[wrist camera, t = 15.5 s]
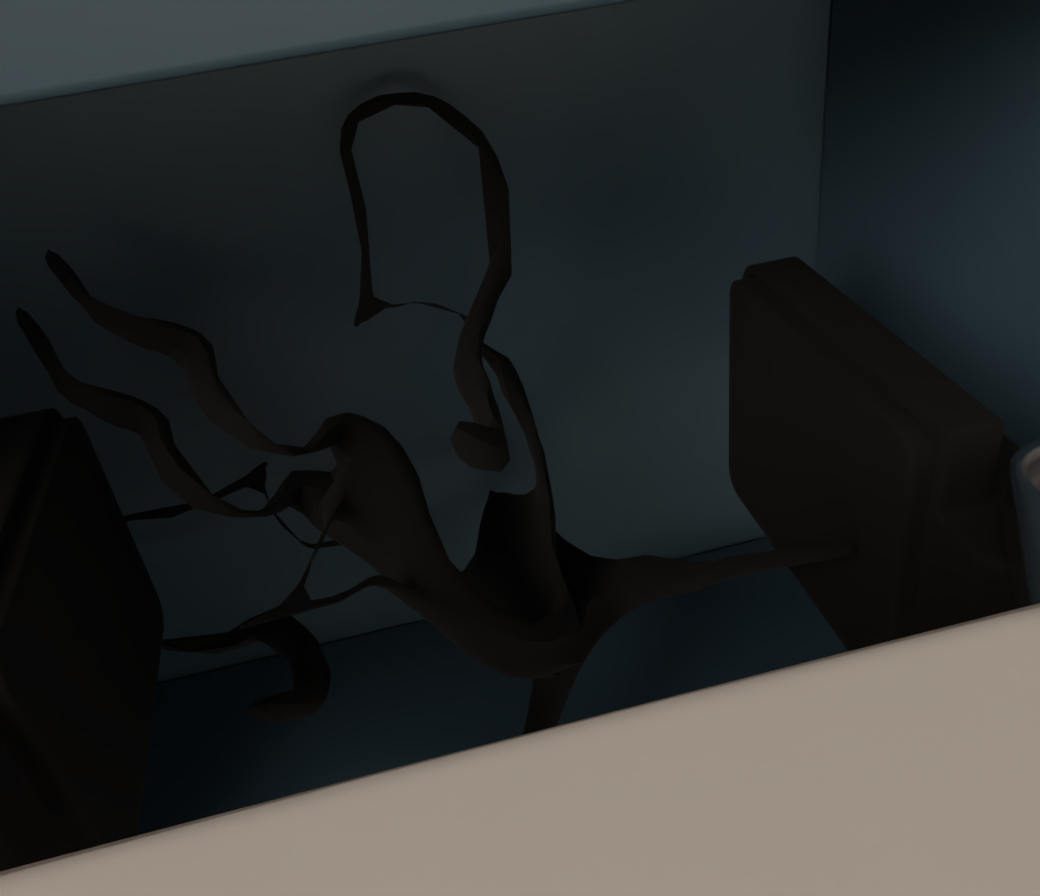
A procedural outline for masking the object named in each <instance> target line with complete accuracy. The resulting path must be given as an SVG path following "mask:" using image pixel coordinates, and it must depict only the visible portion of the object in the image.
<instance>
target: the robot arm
mask: <svg viewBox="0 0 1040 896" xmlns="http://www.w3.org/2000/svg"><path fill="white" fill-rule="evenodd" d="M1004 425H1005V422H1004V421H1003V420H1001V419H1000V418H999V417H998V416H996V415H995V414H994V413H993V412H991V411H990V410H989V409H988V408H986V407H985V406H984V405H983V404H981V403H980V402H979V401H978V400H976V399H975V398H974V397H973V396H971V395H970V394H969V393H968V392H966V391H965V390H964V389H963V388H961V387H960V386H959V385H958V384H956V383H955V382H954V381H953V380H951V379H950V378H949V377H948V376H946V375H945V374H944V373H943V372H941V371H940V370H939V369H938V368H936V367H935V366H934V365H933V364H931V363H930V362H929V361H927V360H926V359H925V358H924V357H922V356H921V355H920V354H919V353H917V352H916V351H915V350H914V349H912V348H911V347H910V346H909V345H907V344H906V343H905V342H904V341H902V340H901V339H900V338H899V337H897V336H896V335H895V334H894V333H892V332H891V331H890V330H889V329H887V328H886V327H885V326H884V325H882V324H881V323H880V322H879V321H877V320H876V319H875V318H874V317H872V316H871V315H870V314H869V313H867V312H866V311H865V310H864V309H862V308H861V307H860V306H859V305H857V304H856V303H855V302H853V301H852V300H851V299H850V298H848V297H847V296H846V295H845V294H843V293H842V292H841V291H840V290H838V289H837V288H836V287H835V286H833V285H832V284H831V283H830V282H828V281H827V280H826V279H825V278H823V277H822V276H821V275H820V274H818V273H817V272H816V271H815V270H813V269H812V268H811V267H810V266H808V265H807V264H806V263H805V262H803V261H802V260H801V259H800V258H797V257H795V256H793V257H788V258H783V259H778V260H773V261H768V262H763V263H758V264H753V265H749V266H747V268H746V269H745V271H744V274H743V277H742V279H740V280H735V281H734V282H733V283H732V285H731V288H730V309H729V473H730V478H731V482H732V485H733V488H734V490H735V492H736V494H737V495H738V497H739V498H740V500H741V501H742V503H743V504H744V505H745V507H746V508H747V510H748V511H749V512H750V514H751V515H752V517H753V518H754V519H755V521H756V522H757V524H758V525H759V527H760V528H761V529H762V531H763V532H764V534H765V535H766V536H767V538H768V539H769V541H770V542H771V543H772V545H773V546H774V548H775V549H776V550H781V549H790V548H799V547H808V546H818V545H828V544H840V543H855V544H856V545H857V548H858V553H856V554H853V555H850V556H845V557H841V558H836V559H831V560H825V561H820V562H814V563H808V564H802V565H796V566H790V567H789V569H790V570H791V572H792V573H793V574H794V576H795V577H796V579H797V580H798V581H799V583H800V584H801V586H802V587H803V588H804V590H805V591H806V593H807V594H808V595H809V597H810V598H811V600H812V601H813V603H814V604H815V605H816V607H817V608H818V610H819V611H820V612H821V614H822V615H823V617H824V618H825V619H826V621H827V622H828V624H829V625H830V626H831V628H832V629H833V631H834V632H835V633H836V635H837V636H838V638H839V639H840V641H841V642H842V643H843V645H844V646H845V648H846V649H847V650H848V652H844V653H840V654H836V655H832V656H828V657H824V658H820V659H816V660H812V661H809V662H805V663H801V664H797V665H793V666H789V667H785V668H781V669H777V670H773V671H769V672H765V673H762V674H758V675H754V676H750V677H746V678H742V679H738V680H734V681H730V682H726V683H722V684H718V685H715V686H711V687H707V688H703V689H699V690H695V691H691V692H687V693H683V694H679V695H676V696H672V697H668V698H664V699H660V700H656V701H652V702H648V703H644V704H641V705H637V706H633V707H629V708H625V709H621V710H617V711H613V712H609V713H606V714H602V715H598V716H594V717H590V718H586V719H582V720H578V721H574V722H570V723H567V724H563V725H559V726H555V727H551V728H547V729H543V730H539V731H536V732H532V733H528V734H524V735H520V736H516V737H512V738H509V739H505V740H501V741H497V742H493V743H489V744H485V745H482V746H478V747H474V748H470V749H466V750H462V751H458V752H455V753H451V754H447V755H443V756H439V757H435V758H431V759H427V760H424V761H420V762H416V763H412V764H408V765H404V766H400V767H397V768H393V769H389V770H385V771H381V772H377V773H374V774H370V775H366V776H362V777H358V778H354V779H351V780H347V781H343V782H339V783H335V784H331V785H328V786H324V787H320V788H316V789H312V790H308V791H305V792H301V793H297V794H293V795H289V796H285V797H282V798H278V799H274V800H270V801H266V802H263V803H259V804H255V805H251V806H247V807H244V808H240V809H236V810H232V811H228V812H225V813H221V814H217V815H213V816H209V817H206V818H202V819H198V820H194V821H190V822H187V823H183V824H179V825H175V826H171V827H168V828H164V829H160V830H156V831H153V832H149V833H145V834H141V835H138V828H139V820H140V813H141V805H142V797H143V789H144V781H145V773H146V765H147V758H148V750H149V742H150V734H151V726H152V718H153V710H154V703H155V695H156V687H157V679H158V671H159V663H160V656H161V648H162V640H163V632H164V618H163V611H162V607H161V603H160V600H159V597H158V594H157V592H156V590H155V588H154V585H153V583H152V581H151V578H150V576H149V574H148V572H147V569H146V567H145V565H144V562H143V560H142V558H141V555H140V553H139V551H138V549H137V546H136V544H135V542H134V539H133V537H132V535H131V533H130V530H129V528H128V526H127V523H126V521H125V519H124V516H123V514H122V512H121V510H120V507H119V505H118V503H117V500H116V498H115V496H114V494H113V491H112V489H111V487H110V484H109V482H108V480H107V478H106V475H105V473H104V471H103V468H102V466H101V464H100V461H99V459H98V457H97V455H96V452H95V450H94V448H93V445H92V443H91V441H90V439H89V436H88V434H87V432H86V429H85V428H84V426H83V424H82V422H81V421H80V420H79V419H78V418H77V417H70V418H65V419H63V417H62V416H61V414H60V413H59V412H58V411H57V410H55V409H54V408H49V409H44V410H39V411H34V412H29V413H25V414H20V415H15V416H10V417H5V418H0V896H1040V439H1039V440H1036V441H1034V442H1032V443H1030V444H1028V445H1026V446H1024V447H1022V448H1020V447H1019V446H1018V445H1016V444H1015V443H1014V442H1013V441H1011V440H1010V439H1009V438H1008V437H1006V436H1005V435H1004V434H1003V430H1004Z"/></svg>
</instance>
